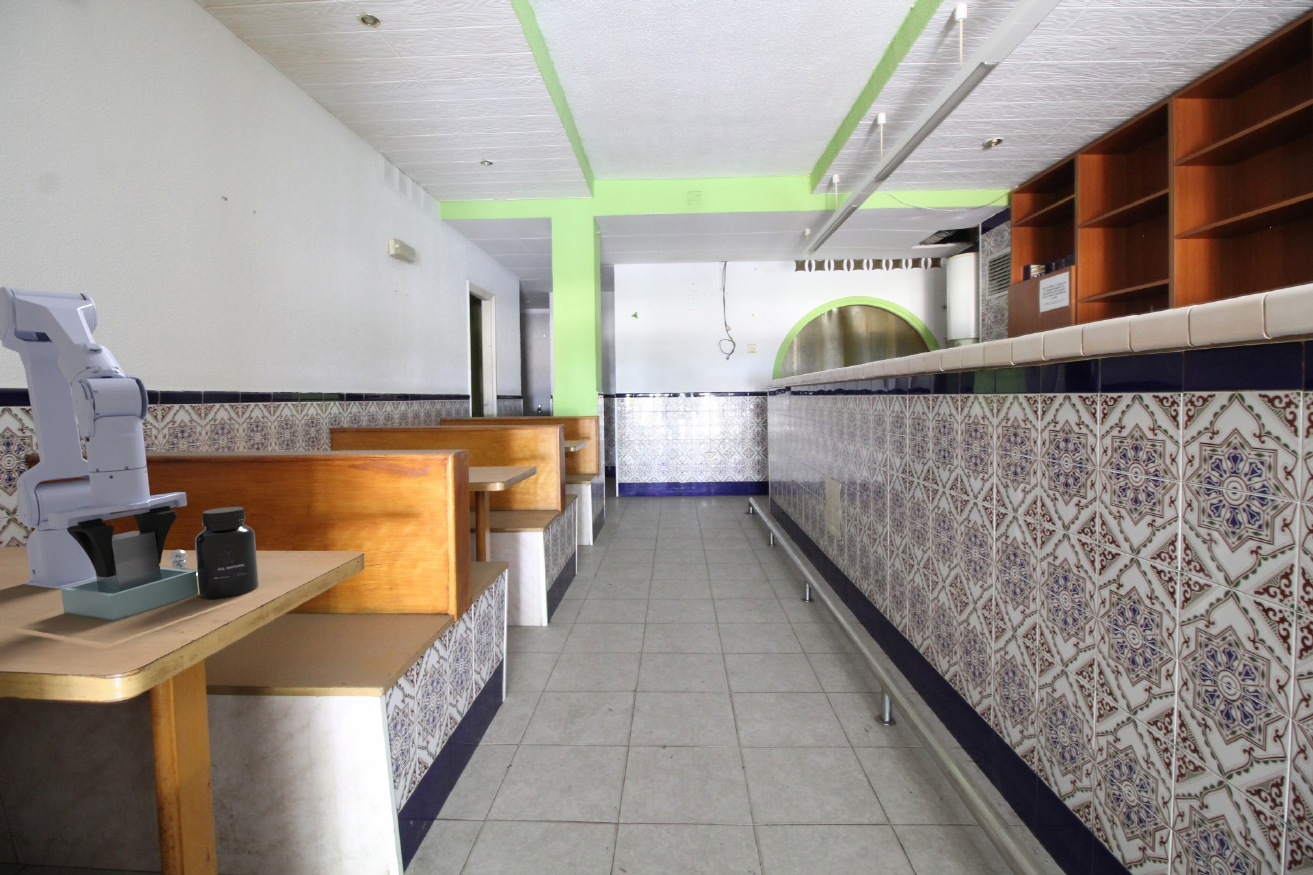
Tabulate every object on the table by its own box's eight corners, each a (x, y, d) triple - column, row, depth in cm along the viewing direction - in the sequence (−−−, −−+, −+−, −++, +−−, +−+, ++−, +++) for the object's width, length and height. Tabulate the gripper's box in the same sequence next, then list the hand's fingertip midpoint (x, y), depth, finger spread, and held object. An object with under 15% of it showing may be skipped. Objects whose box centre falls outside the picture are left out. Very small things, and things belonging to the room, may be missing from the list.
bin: (64, 615, 77) (61, 589, 77) (151, 590, 87) (148, 565, 86) (113, 623, 74) (110, 595, 74) (198, 596, 83) (196, 571, 83)
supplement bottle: (229, 603, 80) (220, 515, 79) (187, 601, 81) (178, 515, 80) (271, 586, 87) (263, 505, 86) (232, 584, 88) (224, 504, 87)
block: (98, 593, 79) (90, 540, 78) (141, 581, 83) (133, 530, 83) (120, 595, 77) (111, 541, 76) (162, 583, 82) (154, 531, 81)
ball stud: (143, 581, 91) (140, 554, 90) (188, 569, 97) (185, 543, 96) (172, 585, 89) (168, 556, 88) (216, 571, 95) (213, 545, 94)
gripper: (67, 478, 70) (81, 590, 72) (197, 462, 84) (206, 556, 85) (32, 477, 73) (46, 585, 74) (163, 461, 86) (173, 553, 88)
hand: (130, 569), depth 80 cm, fingers closed on block, 5 cm apart
